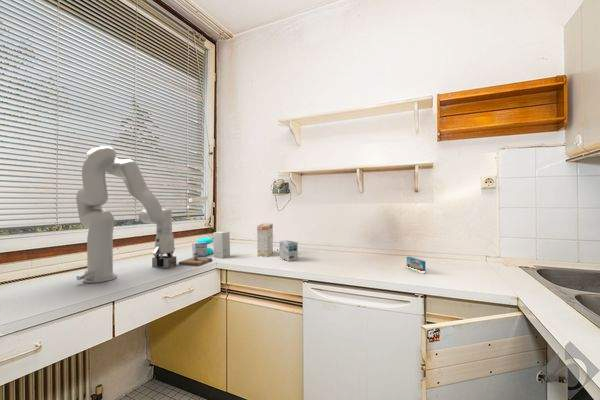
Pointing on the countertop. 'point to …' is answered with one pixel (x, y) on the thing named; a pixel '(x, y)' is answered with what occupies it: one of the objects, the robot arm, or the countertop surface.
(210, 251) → the donuts
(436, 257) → the countertop surface
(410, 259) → the teal flat box
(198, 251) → the medicine box
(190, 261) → the keeper board
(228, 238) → the skincare box
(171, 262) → the gray open box
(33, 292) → the countertop surface
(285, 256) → the light bulb box
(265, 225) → the coffeecake box
